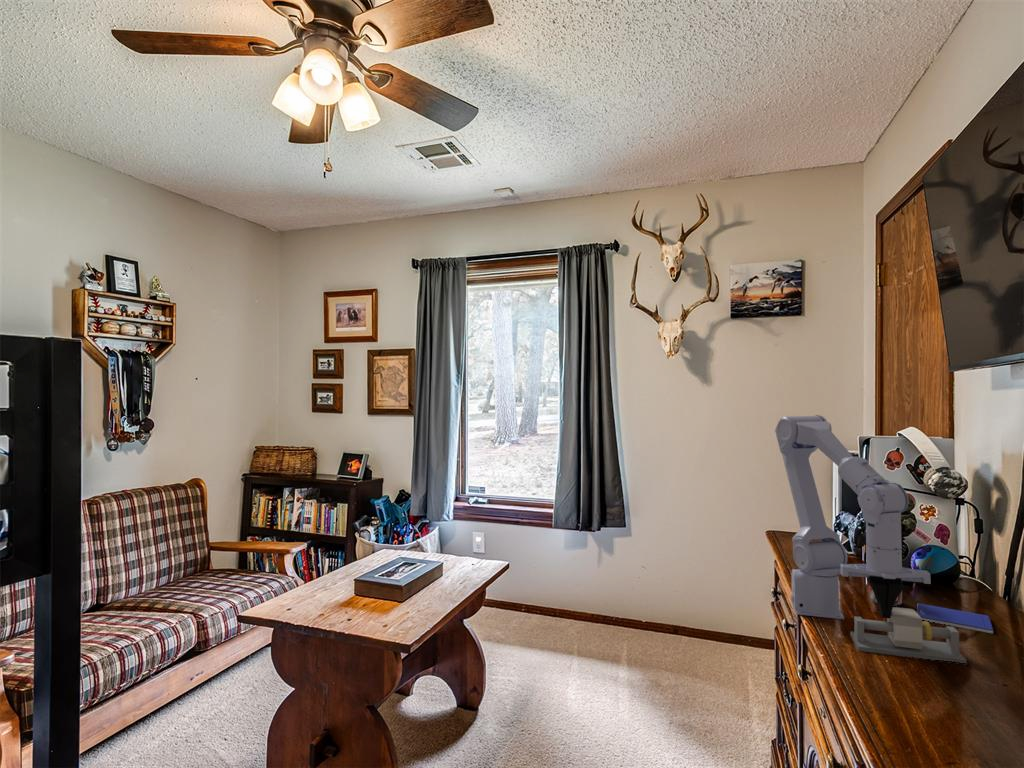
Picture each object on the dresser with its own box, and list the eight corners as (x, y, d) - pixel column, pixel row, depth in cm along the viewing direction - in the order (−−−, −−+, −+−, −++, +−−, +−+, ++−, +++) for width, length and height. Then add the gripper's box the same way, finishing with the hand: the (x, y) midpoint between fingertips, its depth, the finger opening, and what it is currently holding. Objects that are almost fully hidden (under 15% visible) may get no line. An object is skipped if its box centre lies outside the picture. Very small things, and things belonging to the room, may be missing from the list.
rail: (858, 650, 107) (857, 621, 107) (850, 635, 113) (849, 607, 113) (966, 664, 101) (966, 633, 101) (951, 647, 108) (950, 618, 108)
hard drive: (917, 614, 120) (993, 628, 113) (917, 602, 127) (988, 614, 120) (917, 622, 120) (993, 636, 113) (917, 609, 127) (988, 622, 120)
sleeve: (894, 646, 106) (894, 615, 106) (887, 635, 110) (887, 606, 110) (922, 649, 104) (922, 618, 104) (914, 638, 109) (913, 609, 109)
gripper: (845, 548, 107) (846, 619, 107) (936, 555, 102) (937, 629, 102) (837, 538, 114) (839, 605, 114) (922, 544, 109) (924, 614, 109)
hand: (884, 616), depth 108 cm, fingers closed
